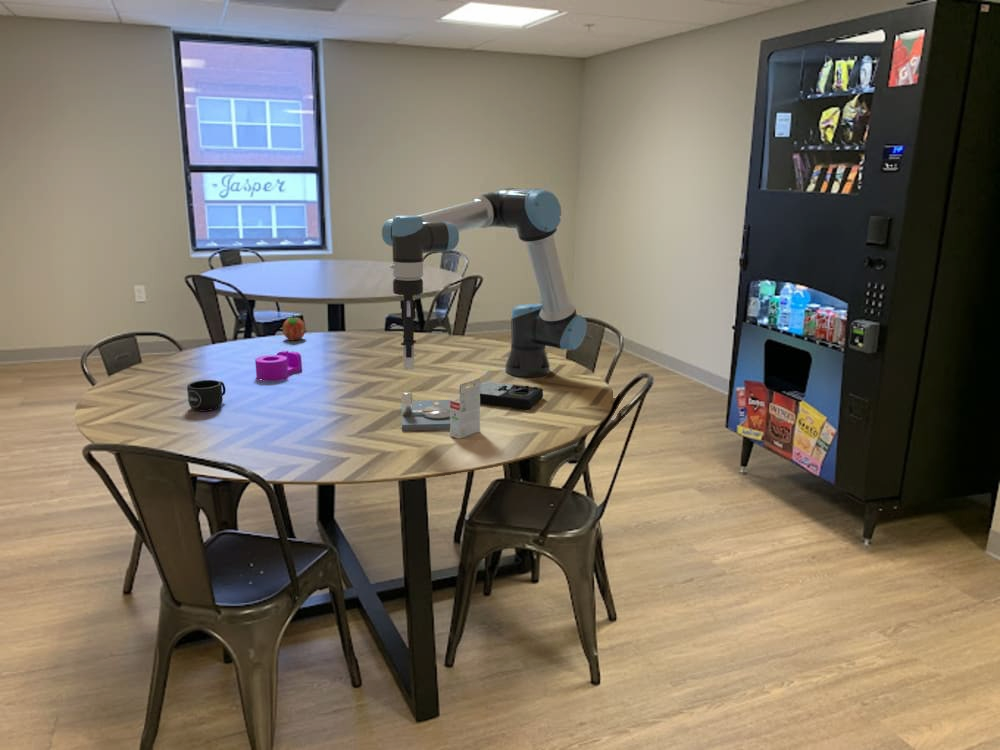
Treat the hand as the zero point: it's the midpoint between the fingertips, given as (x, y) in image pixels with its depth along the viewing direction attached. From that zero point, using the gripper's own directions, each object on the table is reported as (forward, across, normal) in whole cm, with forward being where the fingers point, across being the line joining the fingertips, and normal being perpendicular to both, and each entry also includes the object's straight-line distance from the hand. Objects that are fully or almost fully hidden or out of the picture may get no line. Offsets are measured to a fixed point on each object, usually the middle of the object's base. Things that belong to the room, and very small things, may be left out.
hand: (408, 368), depth 197 cm
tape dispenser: (+17, -56, -42) cm, 72 cm away
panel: (+16, -8, +8) cm, 20 cm away
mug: (+17, -23, -56) cm, 63 cm away
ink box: (+17, +6, +14) cm, 23 cm away
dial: (+15, -6, +5) cm, 17 cm away
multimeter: (+17, -22, +29) cm, 40 cm away
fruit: (+16, -108, -43) cm, 117 cm away
